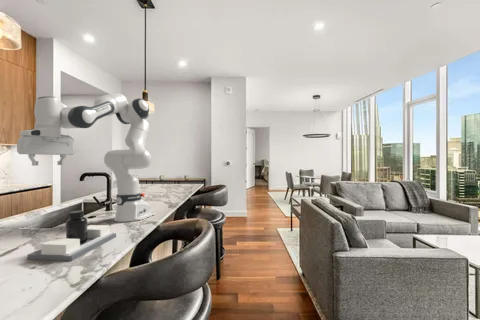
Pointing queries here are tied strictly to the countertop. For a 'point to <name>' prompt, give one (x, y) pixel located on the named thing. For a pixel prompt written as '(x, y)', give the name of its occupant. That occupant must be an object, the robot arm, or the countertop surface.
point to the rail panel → (58, 257)
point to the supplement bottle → (77, 226)
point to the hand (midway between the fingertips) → (48, 165)
